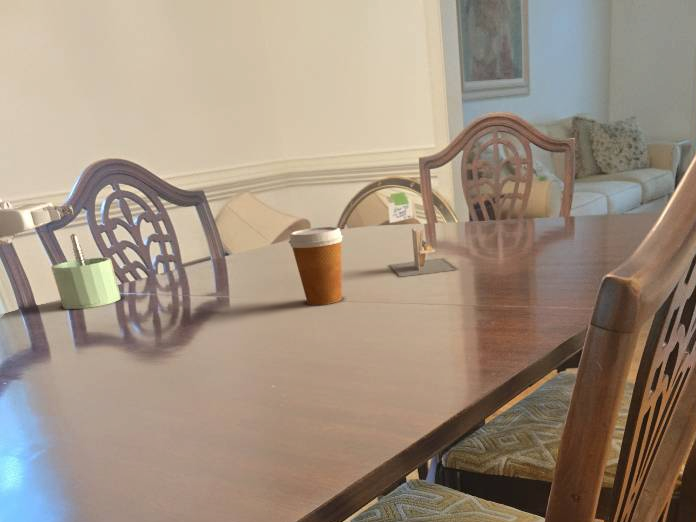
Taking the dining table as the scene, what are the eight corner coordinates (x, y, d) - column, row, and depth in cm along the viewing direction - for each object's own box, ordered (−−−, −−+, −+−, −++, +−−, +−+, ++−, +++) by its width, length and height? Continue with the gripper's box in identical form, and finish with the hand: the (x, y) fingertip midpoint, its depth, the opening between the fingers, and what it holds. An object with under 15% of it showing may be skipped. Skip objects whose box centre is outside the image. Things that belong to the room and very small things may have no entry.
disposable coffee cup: (287, 306, 138) (276, 235, 133) (319, 294, 145) (310, 226, 140) (329, 308, 134) (319, 234, 128) (360, 295, 141) (352, 225, 135)
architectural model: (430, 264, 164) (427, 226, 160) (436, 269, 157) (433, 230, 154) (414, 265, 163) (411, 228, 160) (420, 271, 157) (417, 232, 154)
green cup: (57, 311, 155) (45, 270, 152) (70, 300, 166) (58, 262, 162) (115, 304, 157) (104, 263, 153) (124, 294, 167) (114, 255, 163)
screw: (98, 301, 159) (75, 303, 159) (106, 296, 163) (84, 298, 163) (79, 234, 152) (56, 236, 153) (89, 230, 157) (66, 233, 157)
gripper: (16, 231, 162) (82, 223, 163) (-18, 243, 144) (57, 235, 145) (5, 199, 159) (73, 191, 160) (-30, 207, 141) (47, 198, 142)
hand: (66, 212), depth 152 cm, fingers open, 8 cm apart
